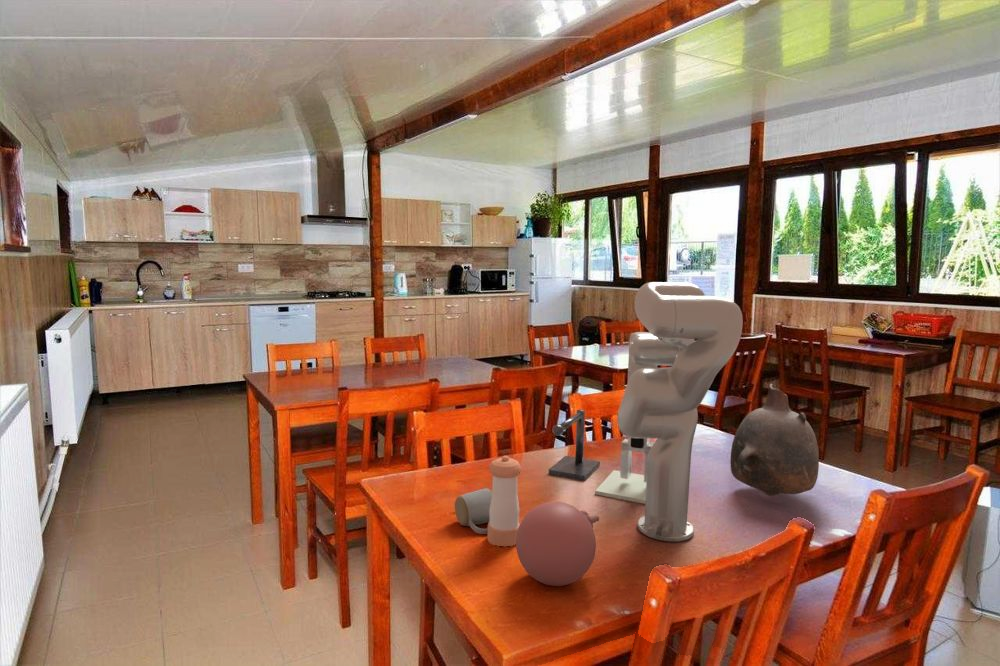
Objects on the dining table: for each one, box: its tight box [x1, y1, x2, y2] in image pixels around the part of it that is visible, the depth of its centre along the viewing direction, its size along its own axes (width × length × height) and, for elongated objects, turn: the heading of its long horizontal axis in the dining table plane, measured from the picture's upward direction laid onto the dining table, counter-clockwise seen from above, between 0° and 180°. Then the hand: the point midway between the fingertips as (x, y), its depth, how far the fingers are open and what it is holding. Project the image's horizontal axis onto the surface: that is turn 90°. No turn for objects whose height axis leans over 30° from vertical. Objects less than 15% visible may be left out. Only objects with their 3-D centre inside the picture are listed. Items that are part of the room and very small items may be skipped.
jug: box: [729, 383, 820, 497], centre depth 163 cm, size 24×21×30 cm
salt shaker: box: [487, 455, 522, 547], centre depth 136 cm, size 7×7×19 cm
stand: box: [548, 409, 601, 482], centre depth 176 cm, size 24×11×18 cm, turn 154°
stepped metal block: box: [619, 437, 655, 482], centre depth 166 cm, size 4×8×14 cm, turn 64°
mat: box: [594, 469, 646, 505], centre depth 168 cm, size 18×18×1 cm
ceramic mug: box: [454, 488, 492, 535], centre depth 143 cm, size 11×8×8 cm
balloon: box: [515, 501, 600, 587], centre depth 120 cm, size 15×20×15 cm
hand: (638, 444), depth 166 cm, fingers closed on stepped metal block, 4 cm apart
